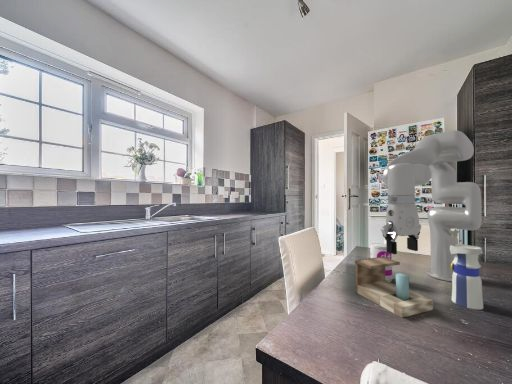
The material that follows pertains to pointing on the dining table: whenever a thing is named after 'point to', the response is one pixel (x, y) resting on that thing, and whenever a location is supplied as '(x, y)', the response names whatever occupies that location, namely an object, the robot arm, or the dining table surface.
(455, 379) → the dining table surface
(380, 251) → the supplement can
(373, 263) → the socket block
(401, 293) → the peg
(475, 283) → the water bottle
